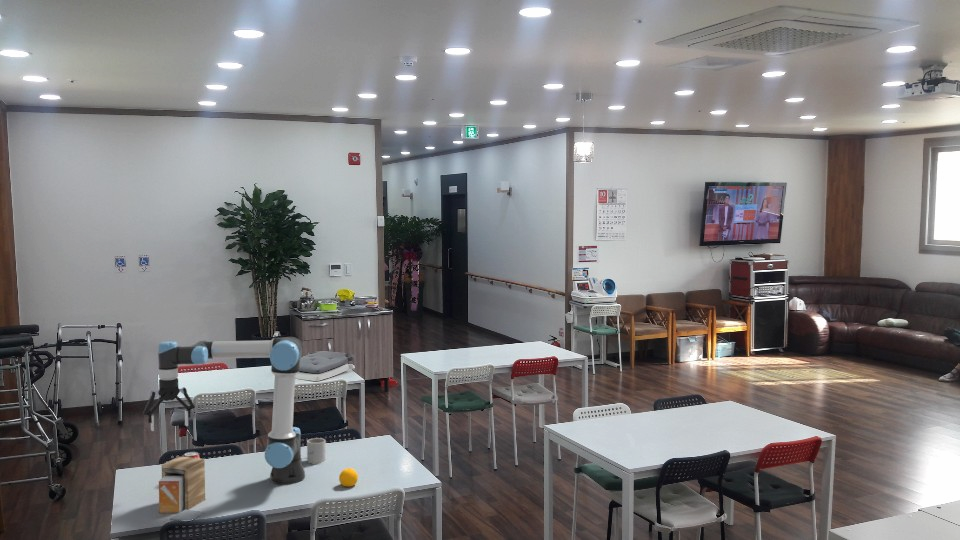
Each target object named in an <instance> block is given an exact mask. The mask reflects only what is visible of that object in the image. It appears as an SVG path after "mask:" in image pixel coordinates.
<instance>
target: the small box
mask: <svg viewBox="0 0 960 540" xmlns="http://www.w3.org/2000/svg"><path fill="white" fill-rule="evenodd" d="M158 504H159V505H158V512H159V513H160V514H161V513H163V514H164V513H165V514H166V513H168V514H169V513H171V514H173V513H176V514H178V513H180V512H181V511H183V510H184V509H185V486H184V476H164V477H163V478H162V477H161V478H160V479H159V480H158Z"/></svg>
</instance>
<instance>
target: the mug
mask: <svg viewBox="0 0 960 540" xmlns="http://www.w3.org/2000/svg"><path fill="white" fill-rule="evenodd" d="M306 443H307V444H306V446H307V448H306V449H307V450H306V452H307V453H306V455H307V457H306V459H307V461H308V462H309V463H308V462H307V461H306V462H307V463H308V464H310V463H321V462H324V461H325V460H327V459H326V458H327V457H326V455H327V454H326V453H327V452H326V451H327V450H326V448H327V447H326V439H324V438H321V437H320V438H319V437H315V438H314V437H313V438H310V439H307V440H306ZM325 462H326V461H325ZM325 462H324V463H325ZM321 464H322V463H321Z"/></svg>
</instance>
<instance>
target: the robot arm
mask: <svg viewBox="0 0 960 540" xmlns="http://www.w3.org/2000/svg"><path fill="white" fill-rule="evenodd" d="M157 347H158V348H157V349H158V352H157V355H158V357H157V358H158V359H157V360H158V391H157V390H155V391H154V390H151V392H150V397H149V399H148V400H147V403H146V405H145V407H144V409H143V411H142V414H143V415H145V416H147V422H148V424H150V431H151V432H155V415H154V413H155V411H156V410H157V409H158V408H159V406H160V405H161V404H162V403H163V402H164V401H165V402H168V401H174V400H176V401H177V402H179V403H180V405H182V406H183V407H184V408H185V410H184V426H186V427H188V426H189V419H190V418H191V415H192V414H191V411H192V410H193V409H195V408H196V405H195V404H194V403H193V401H192V399H191V397H190V395H188V390H187V388H186V387H185V386H184V387H182V388H179V378H178V377H179V365H204V364H206V363H207V362H208V360H209V359H210V360H211V359H253V358H254V359H255V358H257V359H258V358H263V359H265V358H266V359H267V358H269V360H270V364H271V370H270V371H271V373H272V374H273V376H274V380H273V381H274V382H273V385H274V386H273V398H272V399H273V401H272V402H273V403H272V406H273V407H272V417H271V419H272V420H271V421H272V422H271V431H269V432H268V433H267V440H266V441H267V443H266V445H267V446H266V448H265V451H264V459H265V462H266V464H268V465H269V466H270V467H272V468H271V470H270V474H269V480H270V482H271V483H274V484H278V485H287V484H288V483H290V484H294V482H295V483H299V482H301V481H303V480H304V479H305V478H306V472H305V468H304V466H303V463H302V460H301V459H302V454H301V453H302V452H301V450H302V449H301V448H302V447H301V442H302V441H301V435H302V433H301V429H300V428H299V427H296V426H293V425H294V408H295V407H294V406H295V387H296V376H297V375H298V374H299V373H300V367H301V366H300V365H301V363H300V362H301V360H302V357H303V355H304V352H305V348H304V344H303V342H302V341H301V340H300V339H299V338H297V337H294V336H286V337H273V338H272V339H271V340H268V339H267V340H264V339H263V340H228V341H227V340H226V341H225V340H223V341H221V340H219V341H209V340H205V339H204V340H200V341H198V342H196V343H194V344H192V345H191V346H190V345H189V346H180V345H178V342H177V341H173V340H172V341H171V340H170V341H162V342H159V344H158V346H157ZM179 394H183V396H184V398H185V399H186V401H187V403H188V405H187V404H186V403H185V401H183V400H182V399H181V398H180V397H179V396H178V395H179ZM157 395H158V396H159V397H158V399H157V400H156V402H155V403H154V404H153V402H154V400H155V398H156V397H157ZM152 404H153V405H152ZM302 479H303V480H302ZM298 481H299V482H298ZM288 485H289V484H288Z"/></svg>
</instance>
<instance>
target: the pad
mask: <svg viewBox="0 0 960 540" xmlns="http://www.w3.org/2000/svg"><path fill="white" fill-rule="evenodd" d="M205 513H206V511H202V510H201V511H200V510H193V509H189V510H187V509H185V508H184V509H182V510H181V512H180V513H176V514H174V515H173V516H171V517H170V518H169V519H170V520H172V521H178V520H192V519H195V520H196V519H198V518H199V517H201V516H203V515H205Z"/></svg>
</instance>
